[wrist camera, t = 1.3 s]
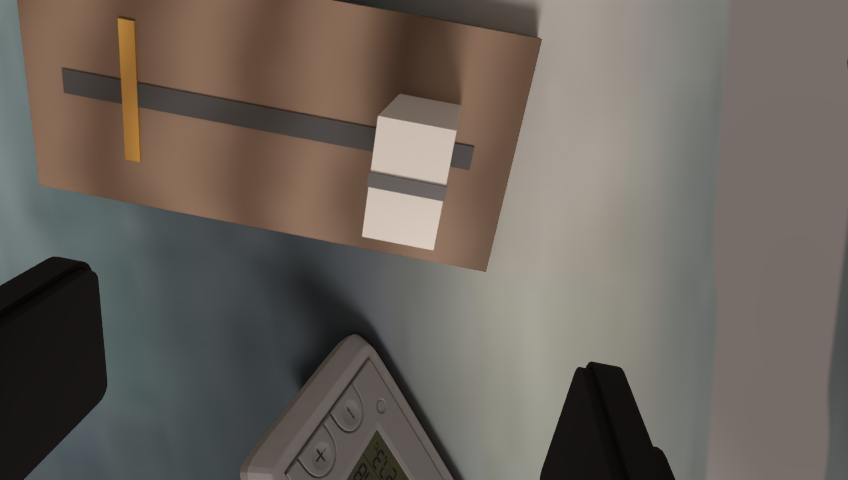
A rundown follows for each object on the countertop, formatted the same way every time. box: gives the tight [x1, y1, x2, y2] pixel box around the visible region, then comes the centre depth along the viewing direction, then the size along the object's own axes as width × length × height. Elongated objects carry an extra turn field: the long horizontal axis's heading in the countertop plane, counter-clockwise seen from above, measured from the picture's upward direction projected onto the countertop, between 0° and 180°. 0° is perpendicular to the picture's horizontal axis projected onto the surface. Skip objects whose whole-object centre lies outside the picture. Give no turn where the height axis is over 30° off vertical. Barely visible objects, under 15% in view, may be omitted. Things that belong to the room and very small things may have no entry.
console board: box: [17, 0, 542, 272], centre depth 28 cm, size 25×12×2 cm, turn 80°
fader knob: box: [362, 94, 462, 250], centre depth 24 cm, size 3×5×6 cm, turn 171°
